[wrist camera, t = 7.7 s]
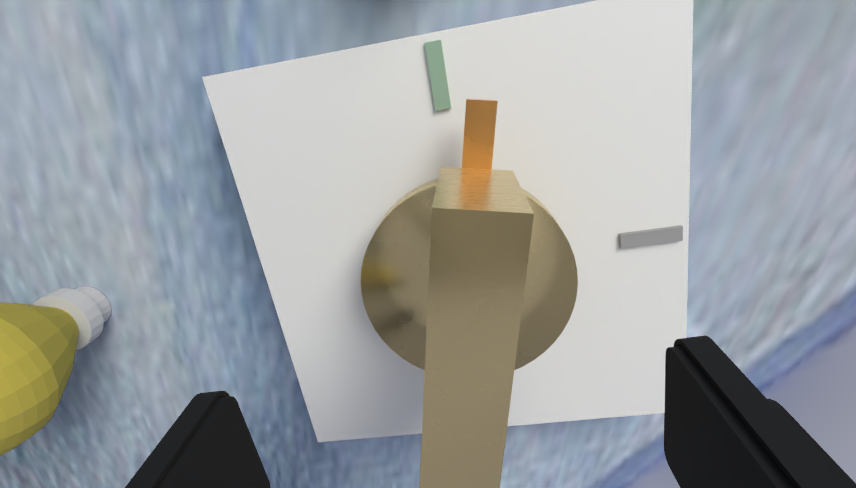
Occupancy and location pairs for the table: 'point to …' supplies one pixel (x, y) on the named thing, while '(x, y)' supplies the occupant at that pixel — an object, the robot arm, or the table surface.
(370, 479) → the table surface
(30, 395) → the light bulb
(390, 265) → the knob
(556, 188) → the base plate
